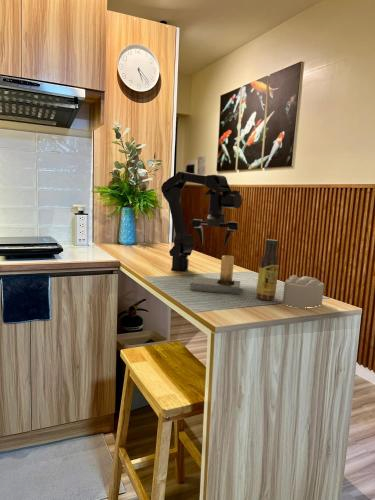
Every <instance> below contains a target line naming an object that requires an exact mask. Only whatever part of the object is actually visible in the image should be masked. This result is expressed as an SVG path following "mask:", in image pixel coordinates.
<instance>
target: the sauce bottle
mask: <svg viewBox="0 0 375 500" xmlns="http://www.w3.org/2000/svg"><path fill="white" fill-rule="evenodd" d="M264 243H265V249H264V254H262V256H261V259H260V261H259V267H258V268H259V269H258V275H257V283H256V296H255V297H256V298H257V299H259V300H263V301H272V300H275V295H276V291H277V284H278V283H277V282H278V275H279V268H280V265H279V261H278V255H277V252H278V251H277V250H278V245H279V240H278V239H271V238H266V239H265V242H264Z"/></svg>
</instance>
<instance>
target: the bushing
mask: <svg viewBox="0 0 375 500" xmlns="http://www.w3.org/2000/svg"><path fill="white" fill-rule="evenodd" d="M234 263H235V256H233V255H227V254H226V255H225V254H224V255H221V261H220V272H219V273H220V274H219V275H220V276H219V279H220V284H226V285H232V280H233V275H234Z"/></svg>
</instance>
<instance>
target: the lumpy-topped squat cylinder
mask: <svg viewBox="0 0 375 500" xmlns="http://www.w3.org/2000/svg"><path fill="white" fill-rule="evenodd" d="M283 285H284V286H283V294H282V295H283V296H282V304H283V303H284V304H285V305H284V304H283V305H284V306H286V305H288V306H292V307H291V308H293V307H300V308H299V309H303V308H305V307H306V308H307V307H315V306H319V305H322V304H323V297H324V288H325V284H324V283H323V282H321V281H320V280H319V279H318V278H315V277H310V276H308V275H307V276H306V275H304V276H301V277H298V276H297V275H296V274H293V275H290V276H289V278H287V279H286V280H285V281H284V284H283ZM288 306H287V307H288Z"/></svg>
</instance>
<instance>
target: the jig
mask: <svg viewBox="0 0 375 500" xmlns="http://www.w3.org/2000/svg"><path fill="white" fill-rule="evenodd" d="M189 285H190V286H189V290H190V291H197V292H198V291H200V292H210V293H221V294H229V295H239V294H240V289H241V288H240V287H241V281H240V280H233V279H232V285H226V284H220V278H213V277H201V276H194V277H193V279H192V280H191V282H190V284H189Z"/></svg>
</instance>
